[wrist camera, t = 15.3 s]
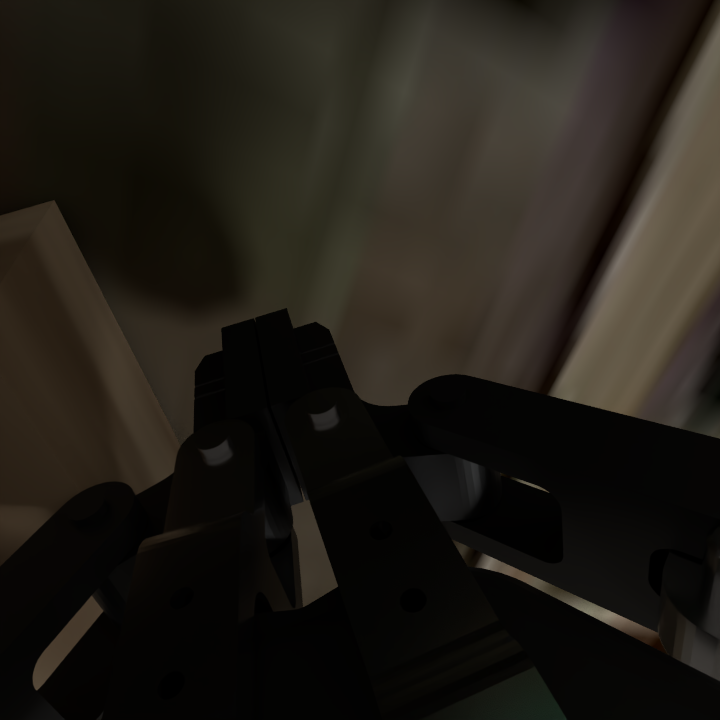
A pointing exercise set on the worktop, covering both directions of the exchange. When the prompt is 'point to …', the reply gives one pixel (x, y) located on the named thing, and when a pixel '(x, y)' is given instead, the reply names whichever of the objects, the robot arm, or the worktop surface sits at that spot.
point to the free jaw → (65, 394)
